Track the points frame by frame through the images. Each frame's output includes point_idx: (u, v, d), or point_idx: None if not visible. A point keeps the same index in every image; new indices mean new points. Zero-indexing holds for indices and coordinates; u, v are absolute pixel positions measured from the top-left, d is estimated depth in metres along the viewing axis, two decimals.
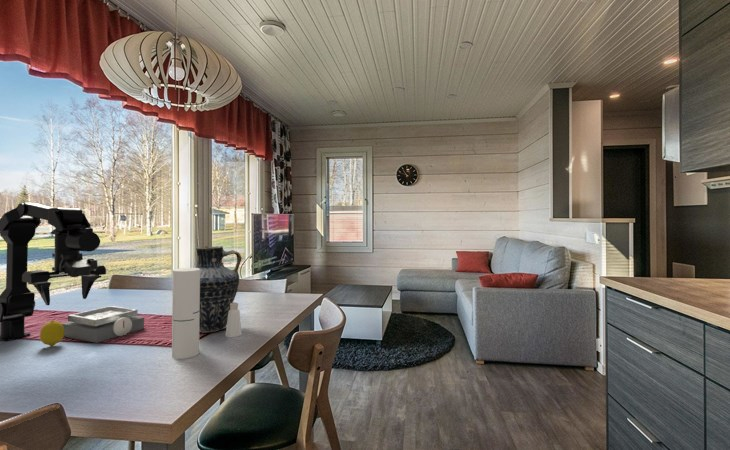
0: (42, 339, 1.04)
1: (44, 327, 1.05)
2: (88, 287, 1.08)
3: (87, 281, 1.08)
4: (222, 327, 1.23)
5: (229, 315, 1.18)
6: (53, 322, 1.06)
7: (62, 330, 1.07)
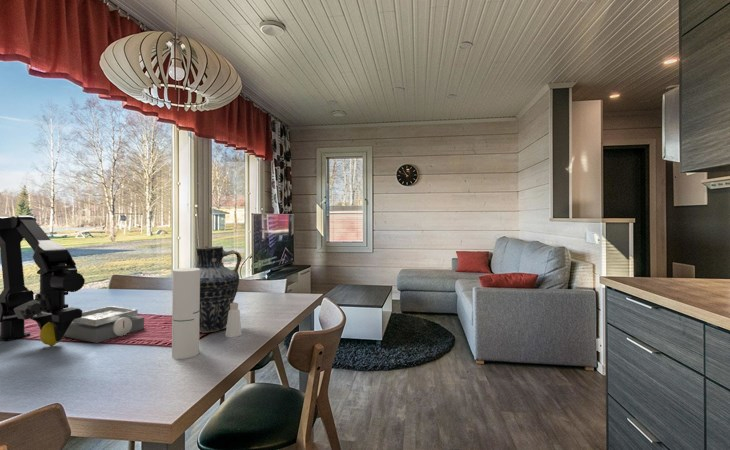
0: (42, 339, 1.04)
1: (44, 327, 1.05)
2: (55, 330, 1.04)
3: None
4: (222, 327, 1.23)
5: (229, 315, 1.18)
6: None
7: None
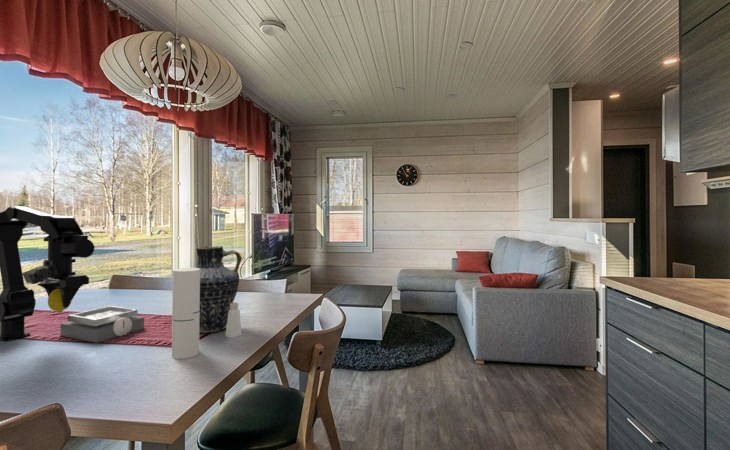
0: (50, 305, 1.06)
1: (52, 293, 1.06)
2: (62, 296, 1.06)
3: None
4: (222, 327, 1.23)
5: (229, 315, 1.18)
6: None
7: None
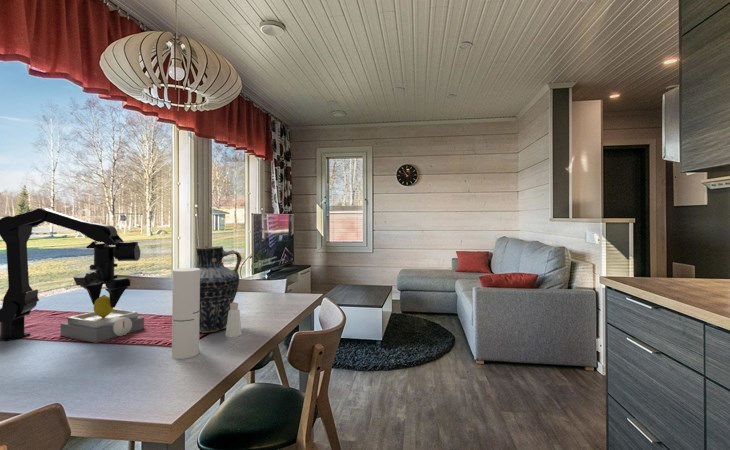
0: (96, 311, 1.18)
1: (97, 300, 1.18)
2: (110, 298, 1.18)
3: None
4: (222, 327, 1.23)
5: (229, 315, 1.18)
6: (104, 296, 1.20)
7: None
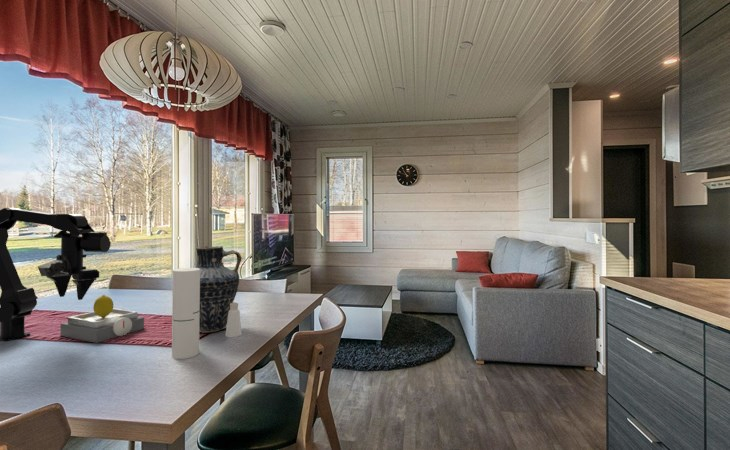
0: (95, 311, 1.18)
1: (97, 300, 1.18)
2: (77, 289, 1.13)
3: None
4: (222, 327, 1.23)
5: (229, 315, 1.18)
6: (104, 296, 1.20)
7: (112, 304, 1.21)
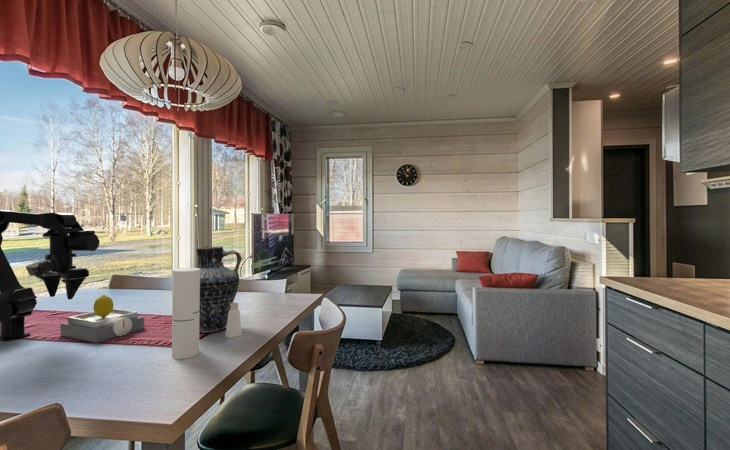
0: (95, 311, 1.18)
1: (97, 300, 1.18)
2: (67, 289, 1.12)
3: None
4: (222, 327, 1.23)
5: (229, 315, 1.18)
6: (104, 296, 1.20)
7: (112, 304, 1.21)
